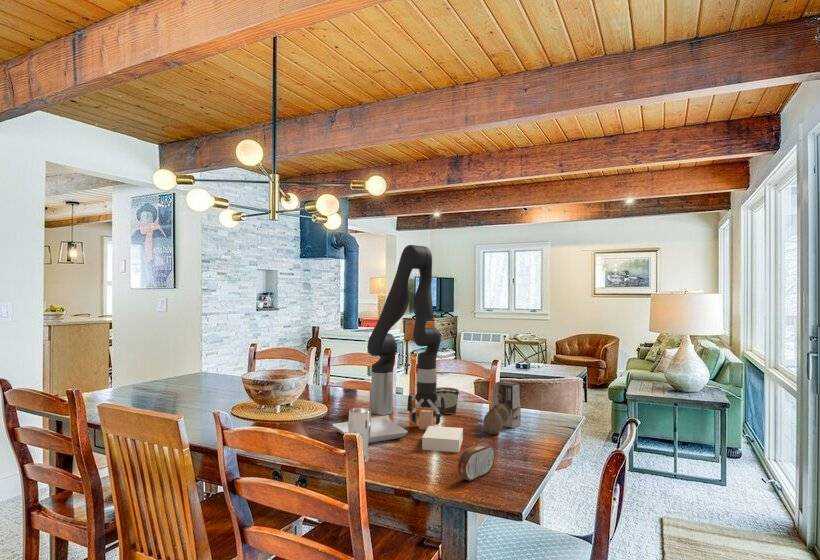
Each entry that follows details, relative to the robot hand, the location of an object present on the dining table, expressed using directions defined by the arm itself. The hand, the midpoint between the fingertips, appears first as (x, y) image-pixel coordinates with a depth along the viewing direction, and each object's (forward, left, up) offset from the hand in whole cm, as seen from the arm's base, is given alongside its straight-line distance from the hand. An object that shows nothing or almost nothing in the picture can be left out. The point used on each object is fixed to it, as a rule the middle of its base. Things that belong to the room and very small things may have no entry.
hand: (426, 423), depth 186 cm
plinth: (+9, -19, -2) cm, 21 cm away
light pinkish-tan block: (0, 0, -2) cm, 2 cm away
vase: (+25, -1, -2) cm, 25 cm away
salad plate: (-18, -15, -2) cm, 24 cm away
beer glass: (-14, -40, -2) cm, 42 cm away
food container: (+4, +26, -2) cm, 26 cm away
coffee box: (+30, +12, -2) cm, 32 cm away
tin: (+22, -45, -2) cm, 50 cm away
